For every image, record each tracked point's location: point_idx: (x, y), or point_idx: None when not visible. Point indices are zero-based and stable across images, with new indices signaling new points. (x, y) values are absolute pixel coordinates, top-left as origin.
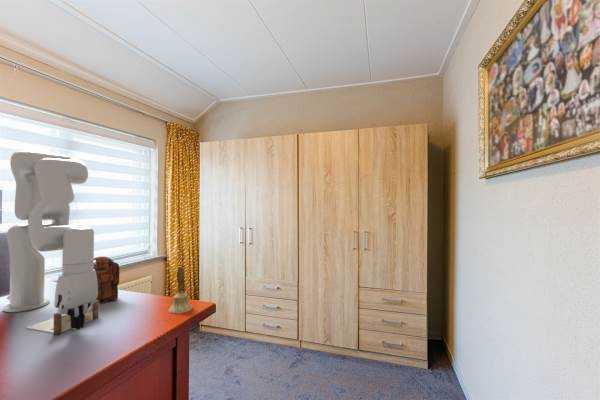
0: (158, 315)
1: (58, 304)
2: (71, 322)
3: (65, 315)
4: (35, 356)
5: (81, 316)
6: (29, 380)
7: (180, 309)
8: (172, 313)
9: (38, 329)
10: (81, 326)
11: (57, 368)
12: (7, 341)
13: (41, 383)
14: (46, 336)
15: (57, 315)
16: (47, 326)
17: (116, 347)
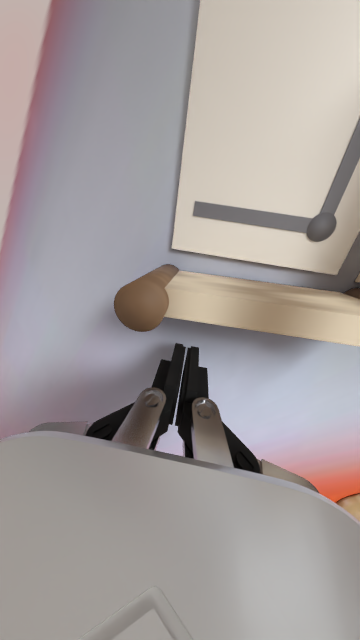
0: (329, 480)
1: (13, 460)
2: (156, 374)
3: (190, 318)
4: (45, 346)
5: (175, 422)
6: (2, 407)
7: None
8: (338, 501)
9: (190, 102)
10: (181, 382)
11: (45, 421)
12: (45, 71)
13: (11, 427)
14: (142, 249)
15: (126, 322)
16: (236, 117)
17: None
